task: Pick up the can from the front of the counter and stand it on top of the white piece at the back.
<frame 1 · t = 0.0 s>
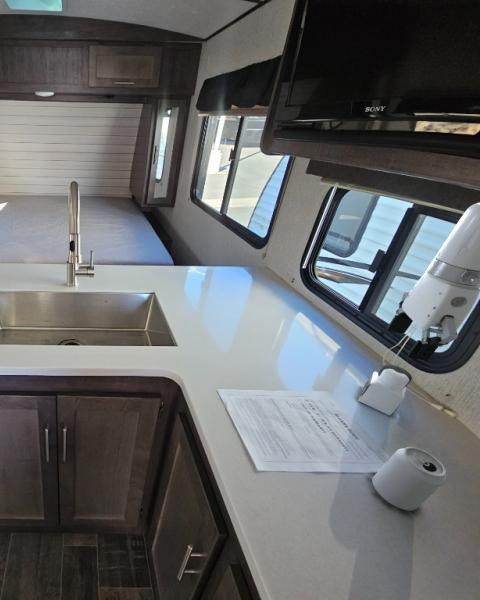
hand: (405, 344, 68), 28 cm above the worktop, tool pointing down, fingers open, 9 cm apart
white piece: (375, 402, 91), on the worktop
can: (391, 494, 69), on the worktop
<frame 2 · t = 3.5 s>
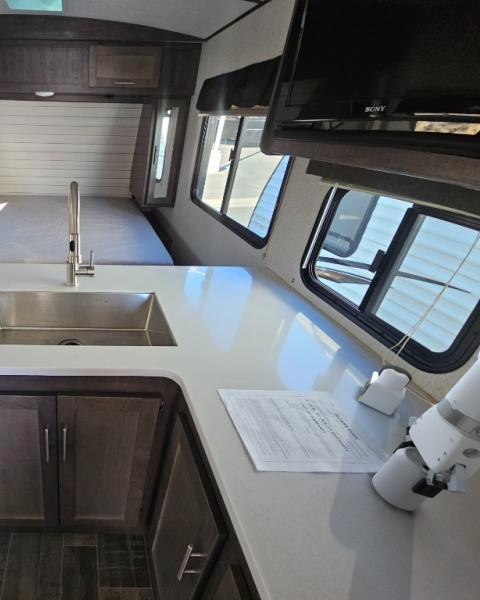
hand: (411, 474, 65), 7 cm above the worktop, tool pointing down, fingers closed on can, 7 cm apart
can: (391, 494, 69), on the worktop, touching gripper
everything else where it was.
when the fingers open (19 cm above the worktop, at t = 10.9 s): can stays where it is, resting on white piece.
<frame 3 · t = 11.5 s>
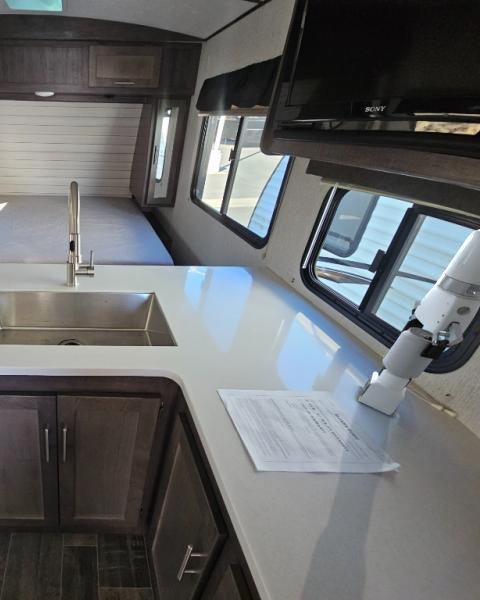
hand: (417, 345, 80), 20 cm above the worktop, tool pointing down, fingers open, 9 cm apart
white piece: (375, 402, 91), on the worktop, touching can
can: (398, 370, 85), point 12 cm above the worktop, touching white piece
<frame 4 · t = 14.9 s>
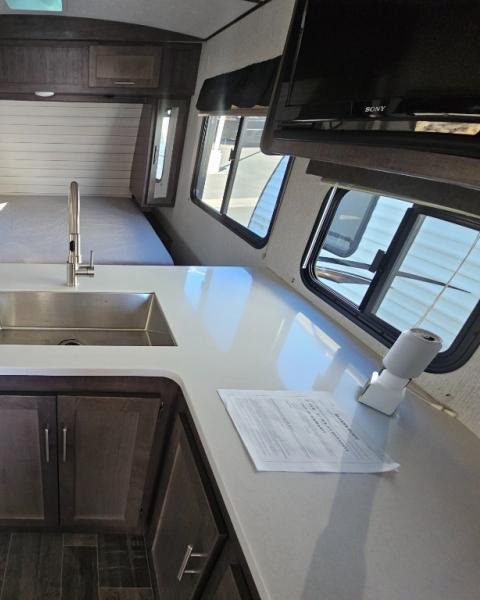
nothing on the worktop moved.
at the end: can 0.0 cm off-centre on the white piece, point 12.0 cm above the white piece's base; can tilted 0°; white piece tilted 0° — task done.
